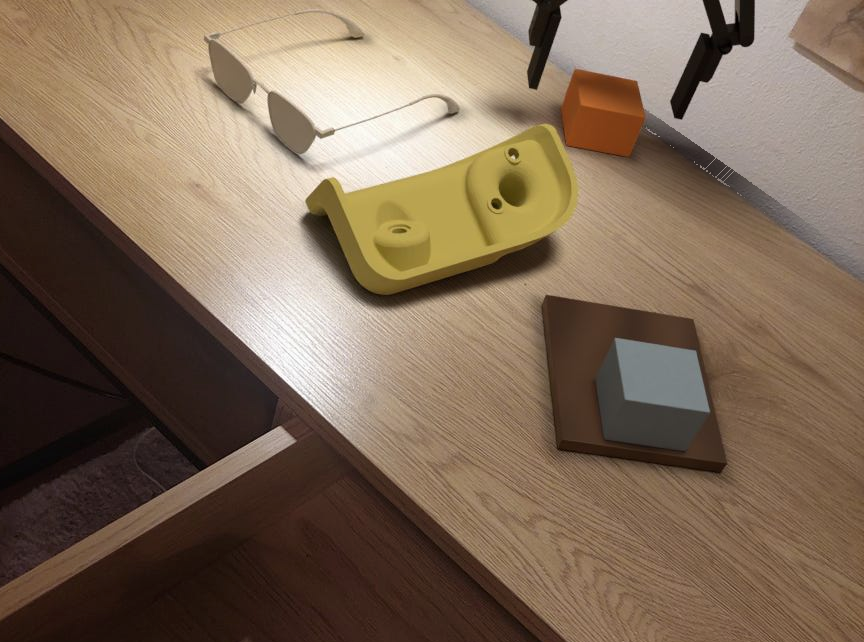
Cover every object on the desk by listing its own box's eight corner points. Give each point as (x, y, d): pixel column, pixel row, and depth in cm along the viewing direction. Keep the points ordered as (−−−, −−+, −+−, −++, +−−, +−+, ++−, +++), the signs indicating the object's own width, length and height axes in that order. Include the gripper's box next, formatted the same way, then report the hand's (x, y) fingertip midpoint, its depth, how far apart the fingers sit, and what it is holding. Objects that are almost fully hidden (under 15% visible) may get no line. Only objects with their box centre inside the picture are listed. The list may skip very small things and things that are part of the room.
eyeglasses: (199, 73, 92) (201, 28, 88) (354, 30, 101) (362, -13, 98) (313, 172, 86) (320, 128, 83) (466, 117, 96) (478, 75, 92)
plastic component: (377, 287, 76) (322, 159, 76) (346, 326, 83) (296, 209, 83) (596, 221, 83) (545, 105, 83) (551, 262, 90) (504, 154, 90)
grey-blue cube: (673, 390, 78) (696, 350, 74) (685, 452, 74) (710, 412, 71) (594, 378, 77) (614, 337, 74) (603, 440, 73) (625, 399, 70)
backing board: (688, 328, 84) (693, 318, 83) (721, 472, 75) (727, 463, 74) (541, 304, 82) (545, 294, 81) (557, 449, 73) (562, 439, 73)
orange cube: (621, 120, 100) (637, 80, 97) (629, 157, 97) (646, 117, 94) (560, 108, 100) (574, 68, 96) (565, 145, 96) (580, 104, 93)
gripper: (552, -190, 75) (471, 91, 91) (876, -109, 78) (741, 146, 95) (544, -230, 79) (468, 45, 96) (852, -152, 83) (727, 99, 100)
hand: (604, 96), depth 96 cm, fingers open, 13 cm apart
